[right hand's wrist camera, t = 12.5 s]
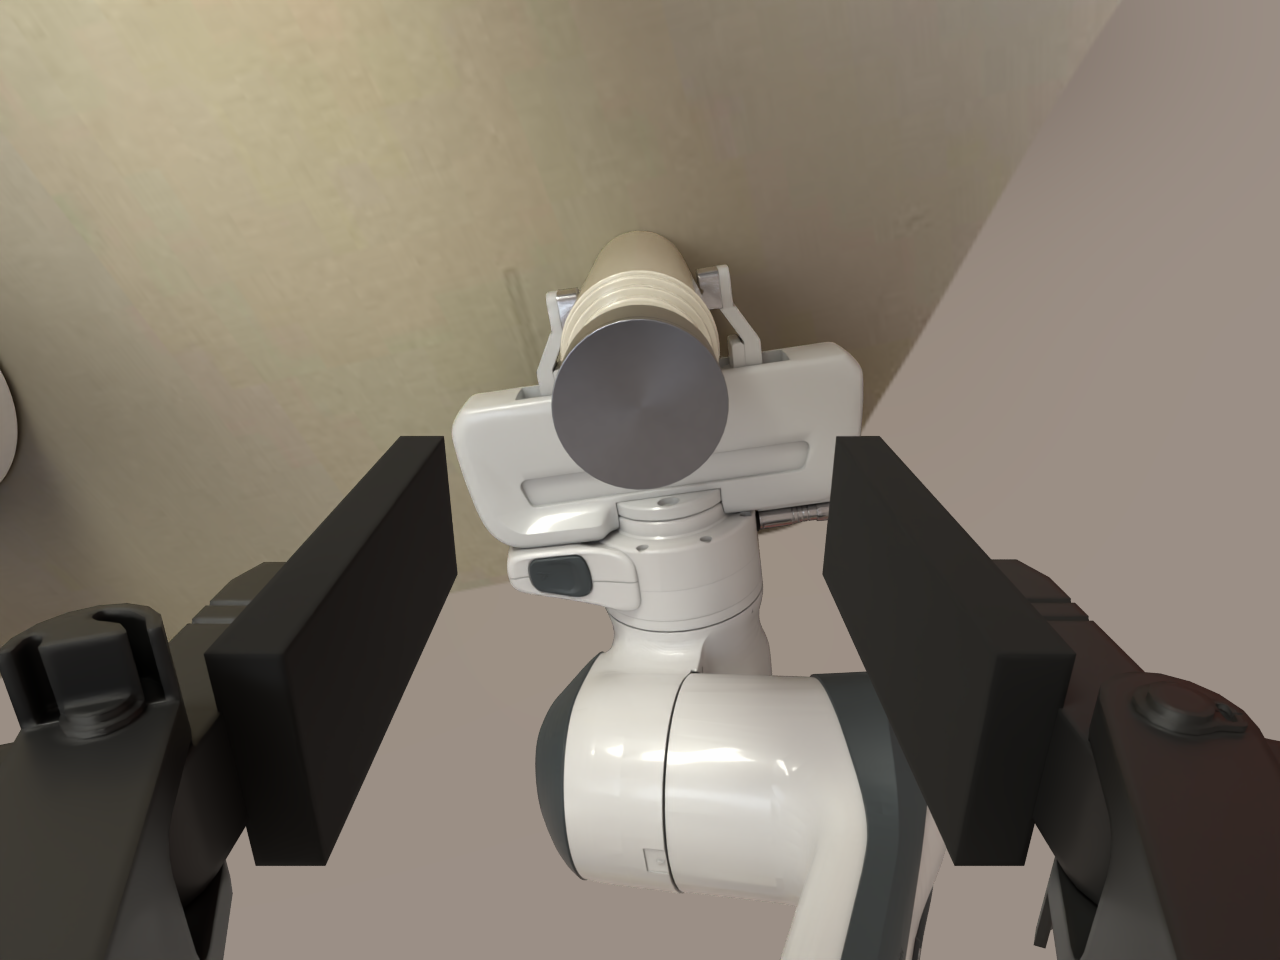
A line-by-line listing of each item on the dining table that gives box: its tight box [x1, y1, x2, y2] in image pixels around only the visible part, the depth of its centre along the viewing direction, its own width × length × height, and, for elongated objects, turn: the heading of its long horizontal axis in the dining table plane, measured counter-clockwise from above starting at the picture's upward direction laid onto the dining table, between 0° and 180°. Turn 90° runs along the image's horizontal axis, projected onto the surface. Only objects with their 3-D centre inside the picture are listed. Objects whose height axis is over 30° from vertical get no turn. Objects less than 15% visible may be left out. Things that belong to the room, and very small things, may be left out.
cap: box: [551, 305, 729, 490], centre depth 21 cm, size 4×4×2 cm
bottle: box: [560, 231, 720, 363], centre depth 31 cm, size 5×5×24 cm
